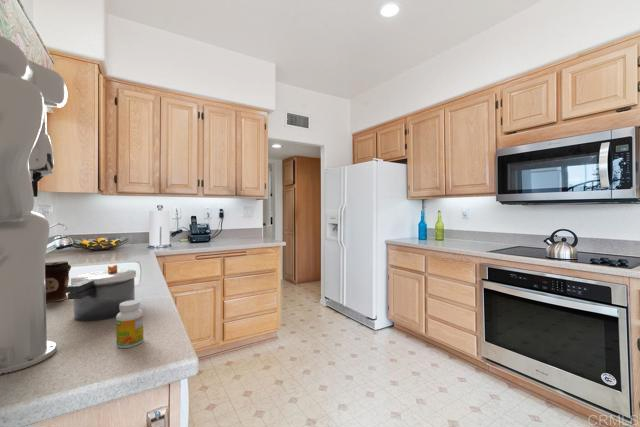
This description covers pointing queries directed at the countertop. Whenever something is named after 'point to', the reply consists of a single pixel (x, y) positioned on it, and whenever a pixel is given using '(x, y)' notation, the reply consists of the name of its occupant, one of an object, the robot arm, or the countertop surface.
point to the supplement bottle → (129, 324)
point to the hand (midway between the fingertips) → (29, 196)
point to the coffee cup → (56, 280)
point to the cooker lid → (99, 278)
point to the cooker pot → (102, 300)
